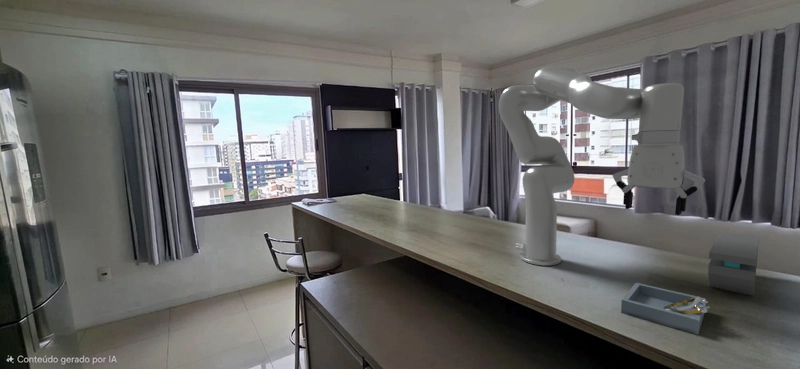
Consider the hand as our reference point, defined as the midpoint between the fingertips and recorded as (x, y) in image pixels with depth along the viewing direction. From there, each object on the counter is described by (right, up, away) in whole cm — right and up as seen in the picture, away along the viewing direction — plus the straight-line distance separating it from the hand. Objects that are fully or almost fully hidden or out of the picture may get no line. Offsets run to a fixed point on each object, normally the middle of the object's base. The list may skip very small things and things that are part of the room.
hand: (652, 211), depth 78 cm
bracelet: (-1, -22, -5) cm, 22 cm away
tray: (-1, -22, -5) cm, 23 cm away
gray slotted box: (+28, -20, +8) cm, 35 cm away
